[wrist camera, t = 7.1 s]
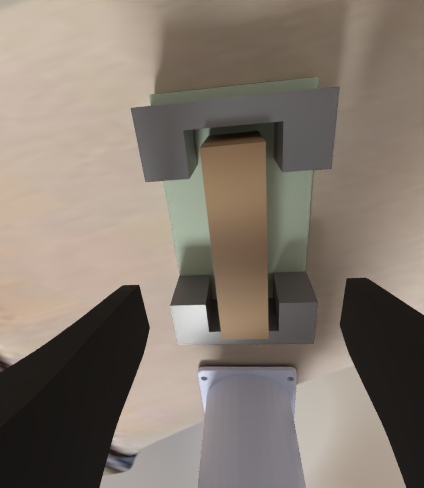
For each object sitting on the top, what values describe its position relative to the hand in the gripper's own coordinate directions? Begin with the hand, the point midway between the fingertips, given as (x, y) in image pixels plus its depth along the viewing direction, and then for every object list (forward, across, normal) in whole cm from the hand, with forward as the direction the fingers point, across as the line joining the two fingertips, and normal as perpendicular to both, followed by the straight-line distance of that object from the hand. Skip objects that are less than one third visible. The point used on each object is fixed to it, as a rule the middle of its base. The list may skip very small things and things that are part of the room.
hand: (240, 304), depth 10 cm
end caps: (+8, 0, 0) cm, 8 cm away
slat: (+7, 0, 0) cm, 7 cm away
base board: (+8, 0, 0) cm, 8 cm away
